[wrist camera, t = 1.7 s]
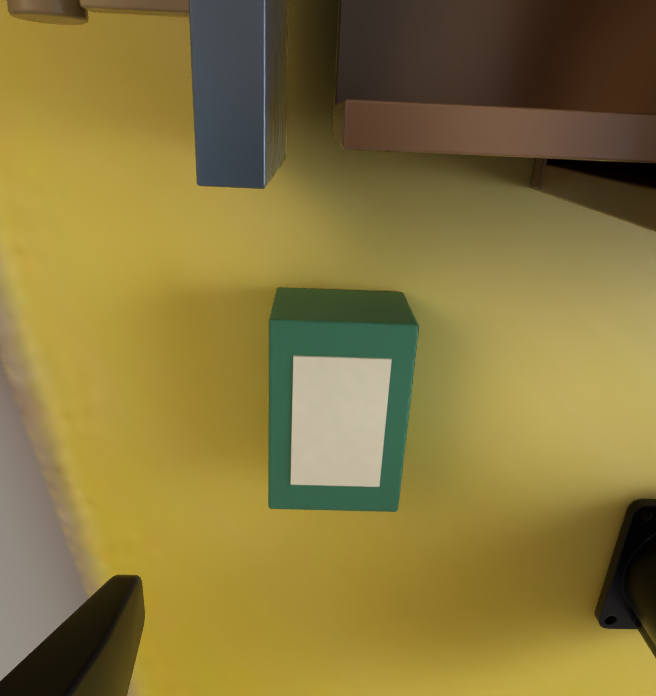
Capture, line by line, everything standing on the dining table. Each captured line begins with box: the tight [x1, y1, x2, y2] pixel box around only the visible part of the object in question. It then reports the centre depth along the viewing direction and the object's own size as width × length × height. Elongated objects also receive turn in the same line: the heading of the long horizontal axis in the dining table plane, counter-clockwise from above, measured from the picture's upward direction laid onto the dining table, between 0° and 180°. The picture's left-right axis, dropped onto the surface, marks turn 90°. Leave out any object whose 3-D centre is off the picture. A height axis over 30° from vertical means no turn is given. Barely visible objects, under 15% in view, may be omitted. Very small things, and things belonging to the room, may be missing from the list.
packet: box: [268, 288, 419, 512], centre depth 18 cm, size 6×4×3 cm, turn 177°
